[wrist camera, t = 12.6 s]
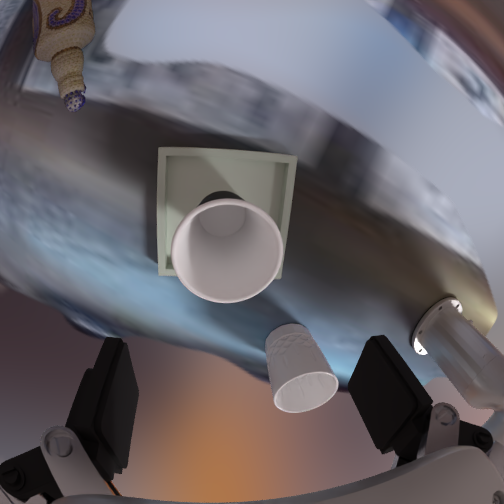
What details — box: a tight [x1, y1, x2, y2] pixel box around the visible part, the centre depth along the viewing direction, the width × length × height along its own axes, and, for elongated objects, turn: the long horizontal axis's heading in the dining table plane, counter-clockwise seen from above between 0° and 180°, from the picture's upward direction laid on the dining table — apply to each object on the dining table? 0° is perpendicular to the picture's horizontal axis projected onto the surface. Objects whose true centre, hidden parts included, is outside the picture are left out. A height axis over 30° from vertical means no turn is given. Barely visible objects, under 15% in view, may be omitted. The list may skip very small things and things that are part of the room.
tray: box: [157, 147, 298, 279], centre depth 29 cm, size 14×14×2 cm
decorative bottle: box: [32, 0, 95, 112], centre depth 15 cm, size 26×8×7 cm, turn 13°
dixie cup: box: [171, 191, 283, 303], centre depth 25 cm, size 8×8×11 cm
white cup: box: [265, 323, 338, 413], centre depth 34 cm, size 8×8×10 cm
